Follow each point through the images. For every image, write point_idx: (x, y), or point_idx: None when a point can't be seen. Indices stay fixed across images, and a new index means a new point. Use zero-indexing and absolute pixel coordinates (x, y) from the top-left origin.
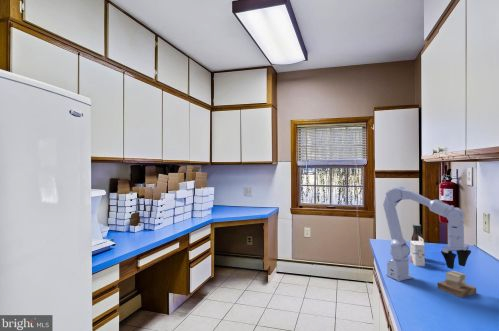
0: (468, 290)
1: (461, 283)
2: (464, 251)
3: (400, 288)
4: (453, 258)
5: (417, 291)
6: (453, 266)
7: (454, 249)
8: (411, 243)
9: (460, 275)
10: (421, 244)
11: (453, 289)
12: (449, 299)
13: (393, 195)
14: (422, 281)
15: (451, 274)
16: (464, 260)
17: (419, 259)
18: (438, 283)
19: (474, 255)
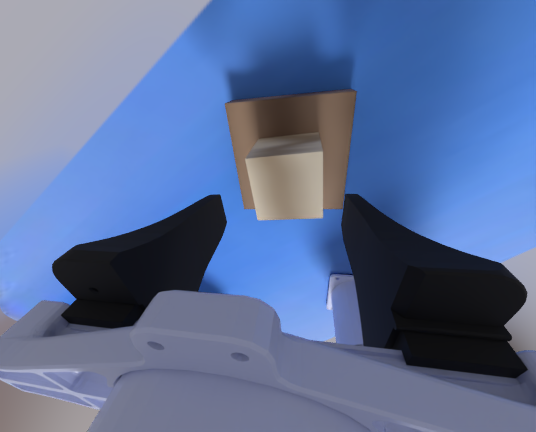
0: (288, 97)
1: (289, 140)
2: (145, 287)
3: (474, 244)
4: (417, 242)
5: (450, 205)
6: (353, 200)
7: (444, 391)
8: None
9: (291, 157)
10: None
11: (351, 133)
12: (427, 93)
13: None
14: (327, 249)
15: (322, 190)
16: (198, 218)
17: None
18: (342, 203)
19: (28, 288)
